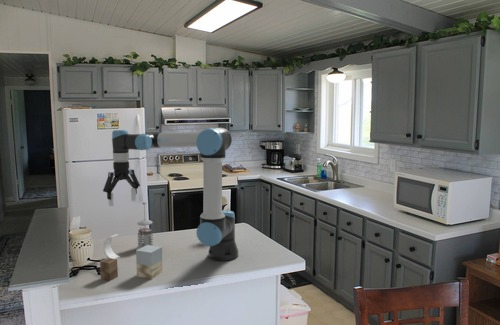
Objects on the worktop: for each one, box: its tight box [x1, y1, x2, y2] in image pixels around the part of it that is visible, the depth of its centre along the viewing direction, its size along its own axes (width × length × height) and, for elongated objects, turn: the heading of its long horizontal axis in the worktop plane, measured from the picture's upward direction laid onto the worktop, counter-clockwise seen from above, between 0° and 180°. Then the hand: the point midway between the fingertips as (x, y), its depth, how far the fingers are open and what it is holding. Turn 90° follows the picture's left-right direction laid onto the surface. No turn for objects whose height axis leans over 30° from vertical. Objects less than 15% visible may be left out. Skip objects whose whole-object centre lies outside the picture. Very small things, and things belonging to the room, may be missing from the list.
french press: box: [135, 201, 155, 250], centre depth 216 cm, size 10×12×25 cm
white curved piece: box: [102, 233, 121, 260], centre depth 201 cm, size 5×6×12 cm
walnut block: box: [99, 258, 119, 282], centre depth 177 cm, size 5×5×8 cm
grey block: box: [135, 245, 163, 266], centre depth 180 cm, size 8×8×6 cm
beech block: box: [136, 259, 164, 280], centre depth 181 cm, size 8×8×6 cm
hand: (122, 203), depth 204 cm, fingers open, 13 cm apart
